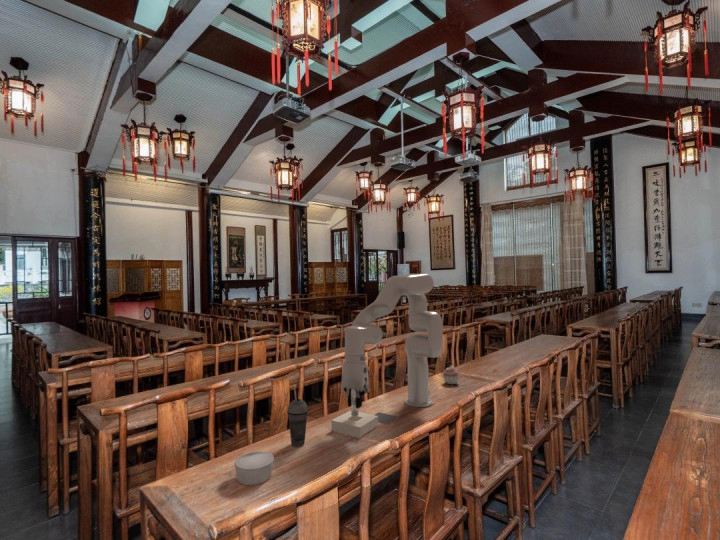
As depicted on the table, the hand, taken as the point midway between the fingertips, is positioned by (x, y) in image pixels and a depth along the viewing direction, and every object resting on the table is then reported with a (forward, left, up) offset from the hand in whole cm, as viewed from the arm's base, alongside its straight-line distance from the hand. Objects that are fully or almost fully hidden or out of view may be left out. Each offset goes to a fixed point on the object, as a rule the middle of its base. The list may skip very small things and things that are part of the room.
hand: (354, 406), depth 145 cm
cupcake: (-79, +11, -9) cm, 80 cm away
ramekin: (+45, -5, -9) cm, 46 cm away
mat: (-14, +5, -9) cm, 17 cm away
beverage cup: (+22, -9, -9) cm, 25 cm away
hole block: (0, 0, -9) cm, 9 cm away
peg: (0, 0, -3) cm, 3 cm away
